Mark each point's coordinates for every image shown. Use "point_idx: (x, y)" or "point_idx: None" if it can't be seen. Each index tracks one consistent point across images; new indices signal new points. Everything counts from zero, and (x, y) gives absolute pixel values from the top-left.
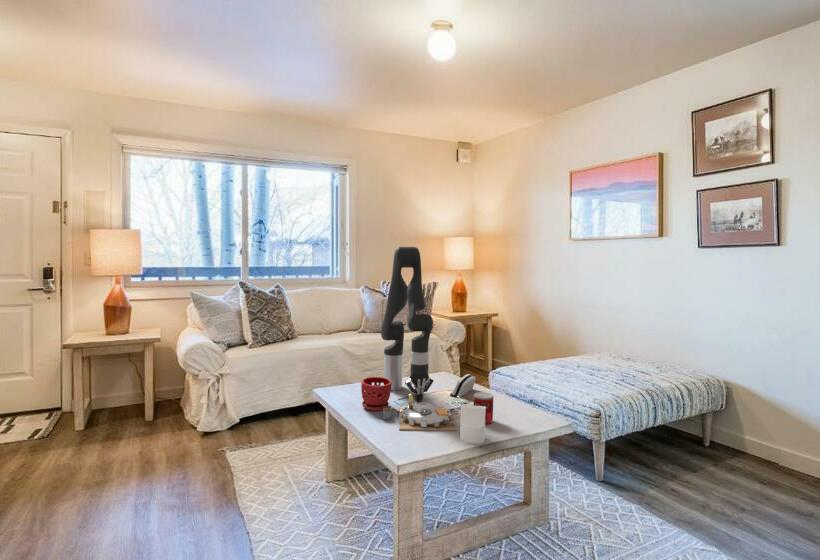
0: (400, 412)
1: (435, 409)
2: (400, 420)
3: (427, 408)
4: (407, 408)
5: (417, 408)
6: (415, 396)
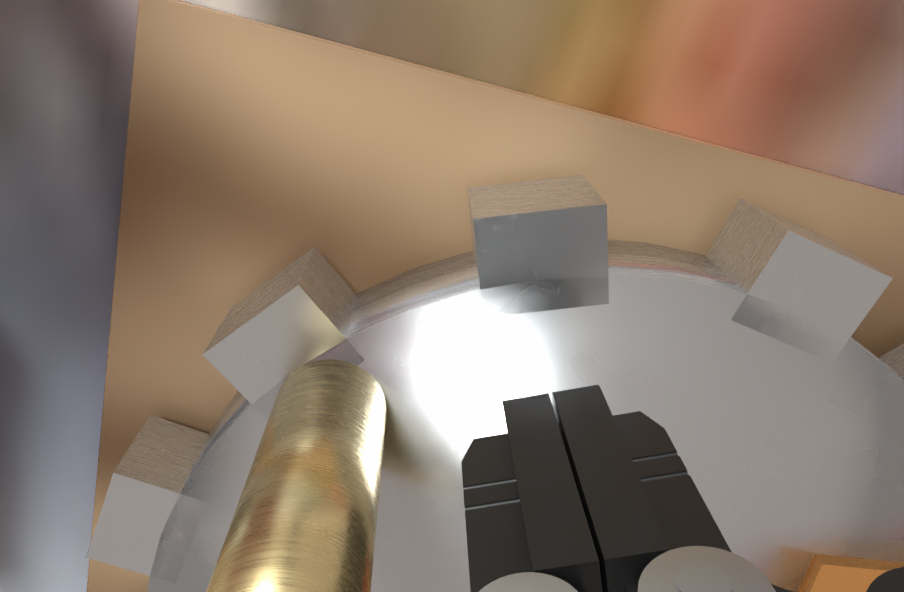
0: (146, 239)
1: (806, 559)
2: (107, 580)
3: None
4: (251, 409)
5: None
6: (468, 536)
